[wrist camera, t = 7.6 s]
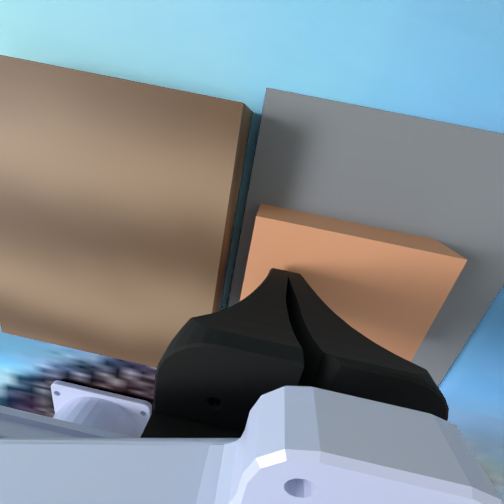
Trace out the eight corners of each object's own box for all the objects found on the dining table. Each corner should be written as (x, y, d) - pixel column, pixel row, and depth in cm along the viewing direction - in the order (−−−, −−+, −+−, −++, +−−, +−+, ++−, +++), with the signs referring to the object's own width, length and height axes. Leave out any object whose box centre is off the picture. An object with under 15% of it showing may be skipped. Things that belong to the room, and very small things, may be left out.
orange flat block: (390, 333, 16) (408, 365, 13) (241, 300, 16) (234, 327, 14) (436, 239, 13) (467, 259, 11) (260, 203, 14) (256, 215, 11)
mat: (422, 400, 18) (425, 405, 18) (219, 354, 18) (218, 358, 18) (580, 150, 12) (590, 150, 11) (267, 89, 12) (266, 87, 12)
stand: (214, 341, 18) (202, 377, 15) (44, 303, 18) (2, 332, 16) (252, 111, 12) (243, 102, 10) (8, 63, 13) (-68, 41, 10)
